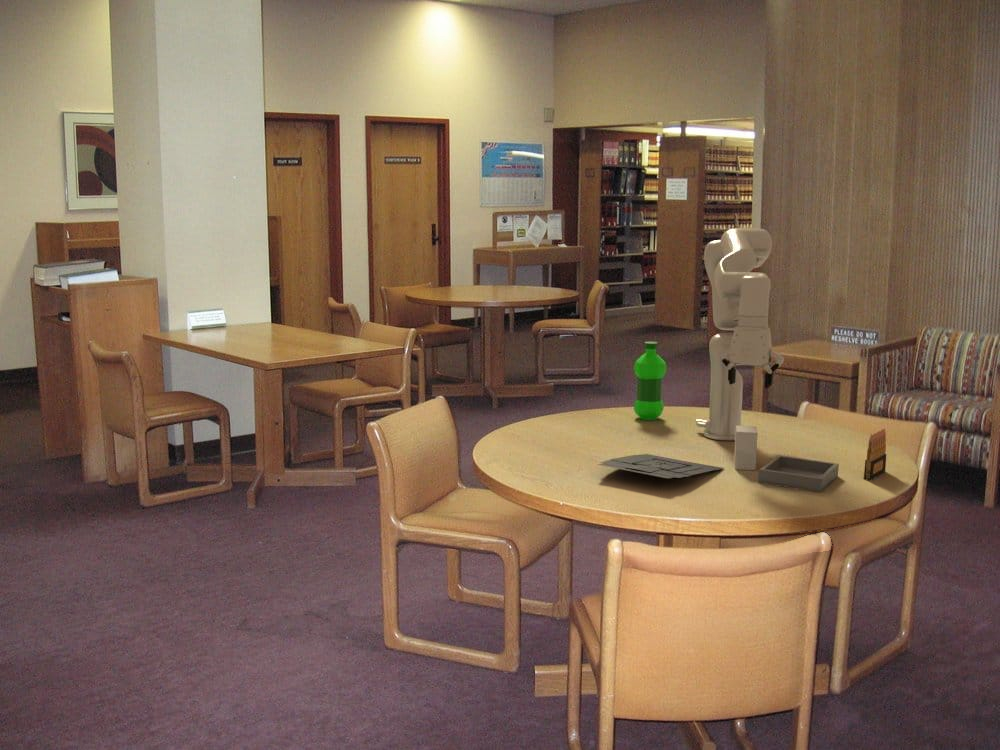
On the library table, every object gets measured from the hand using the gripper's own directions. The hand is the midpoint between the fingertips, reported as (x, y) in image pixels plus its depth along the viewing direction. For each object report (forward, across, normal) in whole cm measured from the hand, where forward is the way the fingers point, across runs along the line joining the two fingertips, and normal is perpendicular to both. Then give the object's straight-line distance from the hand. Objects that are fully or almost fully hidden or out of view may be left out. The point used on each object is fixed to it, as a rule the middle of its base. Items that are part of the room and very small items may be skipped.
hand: (749, 385), depth 278 cm
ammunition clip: (+23, +32, +10) cm, 40 cm away
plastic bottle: (+22, -45, +40) cm, 64 cm away
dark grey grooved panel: (+23, -17, -19) cm, 34 cm away
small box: (+23, 0, 0) cm, 23 cm away
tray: (+22, +16, -5) cm, 28 cm away
